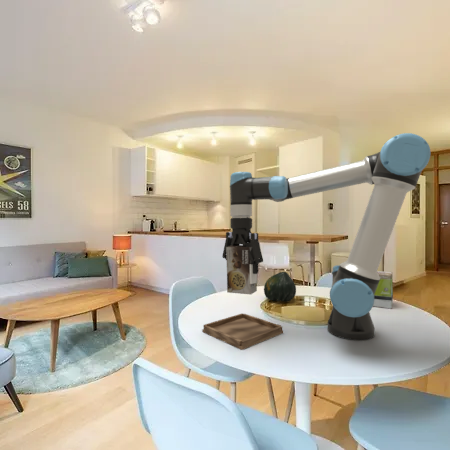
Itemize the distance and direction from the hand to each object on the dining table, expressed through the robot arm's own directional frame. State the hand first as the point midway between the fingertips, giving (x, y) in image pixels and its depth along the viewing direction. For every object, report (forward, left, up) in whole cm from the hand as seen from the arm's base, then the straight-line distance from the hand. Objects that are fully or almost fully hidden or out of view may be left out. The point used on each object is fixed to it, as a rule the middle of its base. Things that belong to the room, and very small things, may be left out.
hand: (241, 280), depth 105 cm
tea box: (-16, -68, -18) cm, 72 cm away
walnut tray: (0, 0, -18) cm, 18 cm away
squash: (+17, -42, -18) cm, 49 cm away
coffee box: (0, 0, -4) cm, 4 cm away
